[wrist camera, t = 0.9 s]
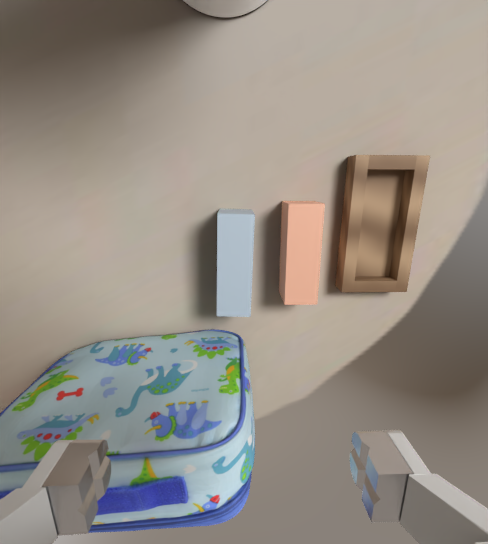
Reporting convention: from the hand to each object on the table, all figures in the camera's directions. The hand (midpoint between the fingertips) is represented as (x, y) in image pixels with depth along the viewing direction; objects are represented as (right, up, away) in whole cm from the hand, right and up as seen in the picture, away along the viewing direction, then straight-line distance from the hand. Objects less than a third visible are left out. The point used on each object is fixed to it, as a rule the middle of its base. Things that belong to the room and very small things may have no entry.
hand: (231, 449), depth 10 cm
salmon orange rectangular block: (+7, +9, +29) cm, 32 cm away
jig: (+17, +12, +29) cm, 36 cm away
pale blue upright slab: (-1, +8, +29) cm, 31 cm away
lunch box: (-12, -7, +34) cm, 37 cm away
